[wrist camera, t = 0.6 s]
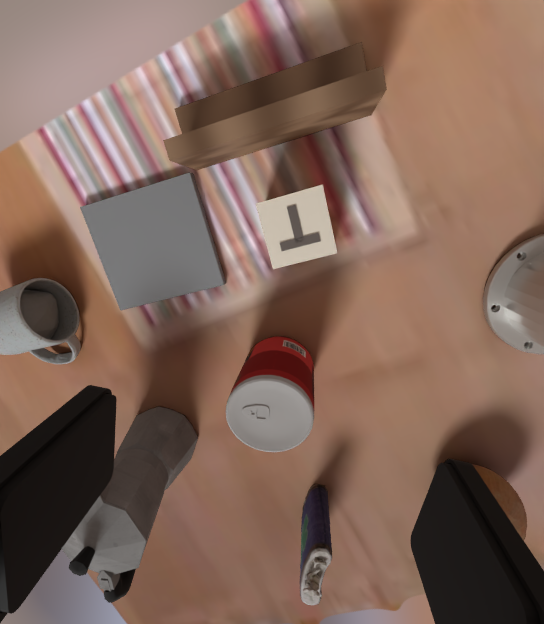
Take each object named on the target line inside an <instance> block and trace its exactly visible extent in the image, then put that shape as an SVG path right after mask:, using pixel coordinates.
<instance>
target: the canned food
mask: <svg viewBox="0 0 544 624" xmlns="http://www.w3.org/2000/svg"><path fill="white" fill-rule="evenodd" d="M226 419H227V422H228V425H229V427H230V429H231V430H232V432H233V433H234V435H235V436H236V437H237V438H238V439H239V440H241V441H242V442H243V443H244V444H246V445H248V446H250V447H252V448H254V449H257V450H260V451H265V452H281V451H286V450H289V449H292V448H294V447H296V446H298V445H299V444H300V443H302V442H303V441H304V440H305V439H306V438H307V436H308V435H309V433H310V431H311V429H312V425H313V420H314V365H313V361H312V358H311V356H310V354H309V352H308V351H307V350H306V349H305V347H303V346H302V345H301V344H300V343H299V342H297V341H295V340H293V339H290V338H287V337H271V338H267V339H265V340H262V341H261V342H259V343H257V344H256V345H255V346H254V347H253V348H252V349H251V351H250V352H249V354H248V356H247V358H246V361H245V363H244V365H243V367H242V369H241V371H240V373H239V376H238V378H237V380H236V382H235V384H234V386H233V388H232V391H231V393H230V396H229V399H228V401H227V406H226Z"/></svg>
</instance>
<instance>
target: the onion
mask: <svg viewBox="0 0 544 624" xmlns="http://www.w3.org/2000/svg"><path fill="white" fill-rule="evenodd" d="M472 465H473V464H472ZM473 466H474V467H475V469H476V470H477V472H478V473H479V475H480V476H481V478H482V479H483V481H484V482H485V484H486V485H487V487H488V488H489V490H490V491H491V493H492V494H493V496H494V497H495V499H496V500H497V502H498V503H499V505H500V506H501V508H502V509H503V511H504V512H505V514H506V515H507V517H508V518H509V520H510V521H511V523H512V524H513V526H514V527H515V529H516V530H517V532H518V533H519V535H520V536H521V538H522V539H523V541H524V539H525V537H526V528H527V518H526V512H525V509H524V506H523V503H522V501H521V499H520V497H519V496H518V494H517V493H516V491H515V490H514V489H513V487H512V486H511V485H510V484H509V483H508V482H507V481H506V480H505V479H503V478H502V477H501V476H499V475H498V474H497V473H495V472H494V471H492V470H490V469H488V468H485V467H482V466H479V465H473Z"/></svg>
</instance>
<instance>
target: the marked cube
mask: <svg viewBox="0 0 544 624" xmlns="http://www.w3.org/2000/svg"><path fill="white" fill-rule="evenodd" d="M256 207H257V211H258V214H259V218H260V222H261V226H262V229H263V233H264V237H265V241H266V244H267V248H268V252H269V256H270V259H271V263H272V267H273V269H276V268H280V267H284V266H288V265H292V264H296V263H300V262H304V261H308V260H312V259H316V258H320V257H324V256H328V255H332V254H336V253H337V249H336V244H335V240H334V235H333V230H332V226H331V221H330V217H329V212H328V207H327V203H326V198H325V193H324V189H323V185H319V186H316V187H312V188H309V189H305V190H302V191H298V192H295V193H291V194H288V195H284V196H281V197H277V198H274V199H271V200H267V201H264V202H260V203H257V204H256Z"/></svg>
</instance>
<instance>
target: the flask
mask: <svg viewBox="0 0 544 624" xmlns="http://www.w3.org/2000/svg"><path fill="white" fill-rule="evenodd" d="M301 532H302V534H301V564H300V568H301V573H300V596H301V599H302V601H303V602H304V603H305V604H307V605H316V604H319V602H320V599H321V597H322V594H321V585H322V580H323V577H324V573H325V571H326V568H327V567H328V565H329V564H330V562H331V560H332V548H331V534H330V519H329V506H328V491H327V489H326V488H325V485H324V486H323V485H319V484H316V485H313V486H312V487H311V489H310V490H309V491H308V494H307V496H306V498H305V501H304V506H303V514H302V527H301Z"/></svg>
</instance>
